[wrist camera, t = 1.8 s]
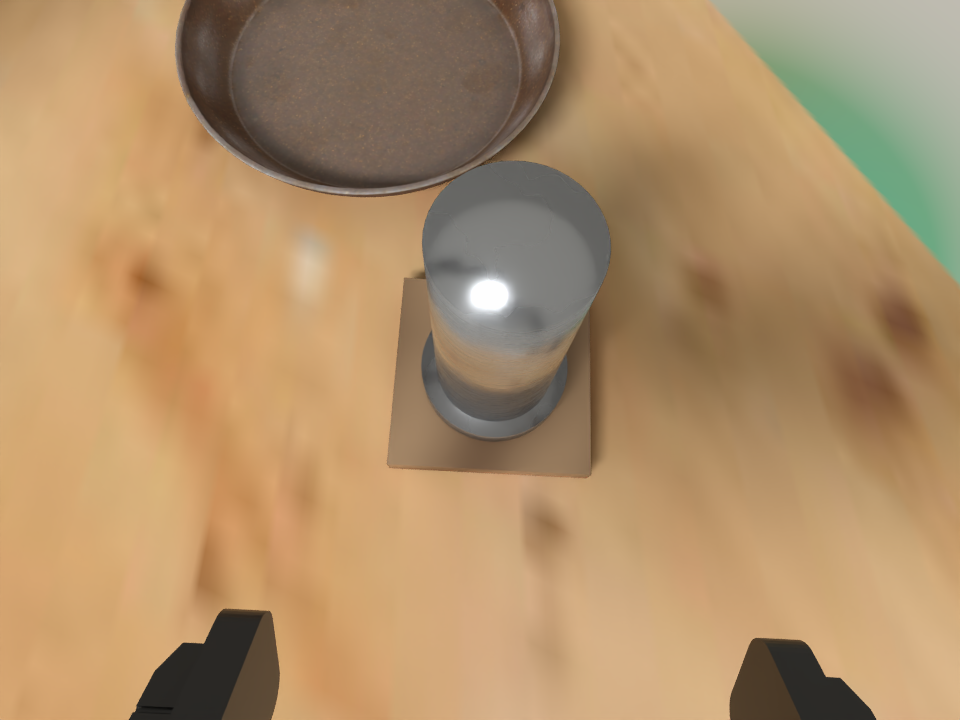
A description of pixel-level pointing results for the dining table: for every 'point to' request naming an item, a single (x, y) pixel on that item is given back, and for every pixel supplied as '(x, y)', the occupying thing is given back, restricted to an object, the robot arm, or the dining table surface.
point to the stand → (439, 447)
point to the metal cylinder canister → (507, 294)
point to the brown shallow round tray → (366, 85)
